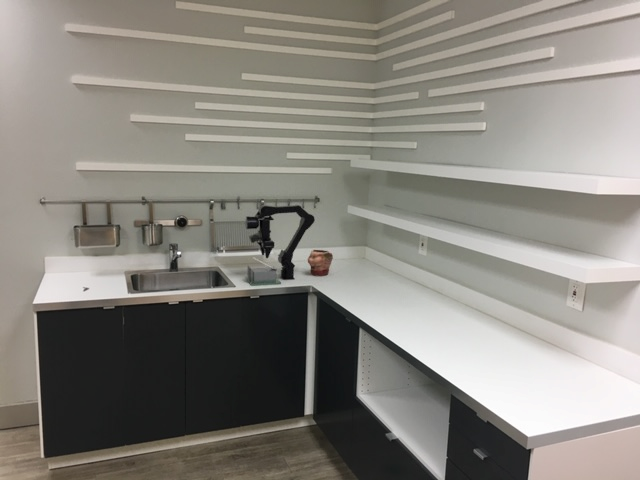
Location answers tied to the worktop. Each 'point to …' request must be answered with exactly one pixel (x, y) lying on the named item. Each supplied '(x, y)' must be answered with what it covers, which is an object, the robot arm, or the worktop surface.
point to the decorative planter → (320, 262)
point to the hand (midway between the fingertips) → (264, 256)
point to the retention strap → (264, 263)
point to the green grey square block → (262, 276)
